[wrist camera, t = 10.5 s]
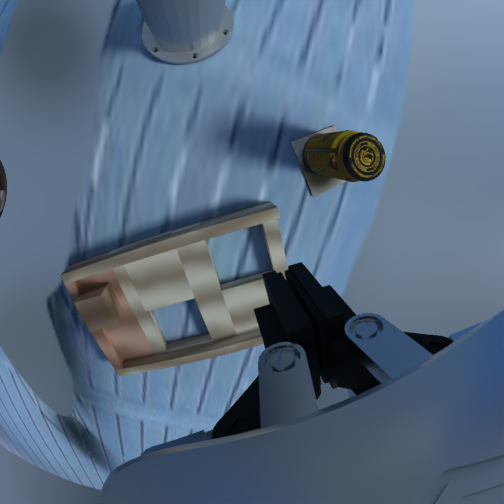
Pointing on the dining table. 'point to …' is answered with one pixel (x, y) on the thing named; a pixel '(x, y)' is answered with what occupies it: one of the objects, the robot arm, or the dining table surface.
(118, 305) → the walnut block
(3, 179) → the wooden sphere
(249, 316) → the trap track
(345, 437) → the robot arm
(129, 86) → the dining table surface
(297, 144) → the condiment
